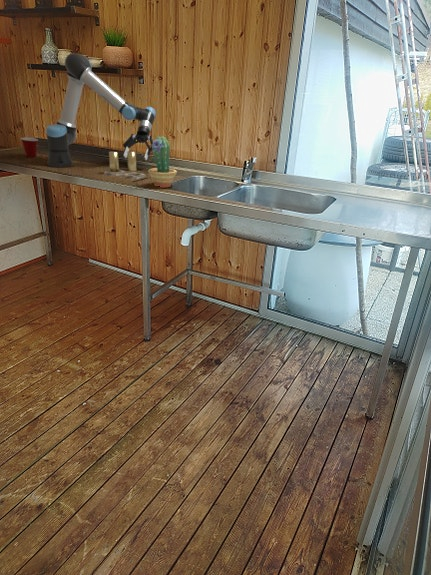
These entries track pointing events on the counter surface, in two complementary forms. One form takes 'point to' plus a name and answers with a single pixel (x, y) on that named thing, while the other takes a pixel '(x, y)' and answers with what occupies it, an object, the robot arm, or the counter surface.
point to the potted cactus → (162, 163)
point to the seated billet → (113, 162)
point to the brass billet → (131, 160)
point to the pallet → (125, 175)
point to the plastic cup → (30, 146)
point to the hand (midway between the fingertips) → (135, 157)
